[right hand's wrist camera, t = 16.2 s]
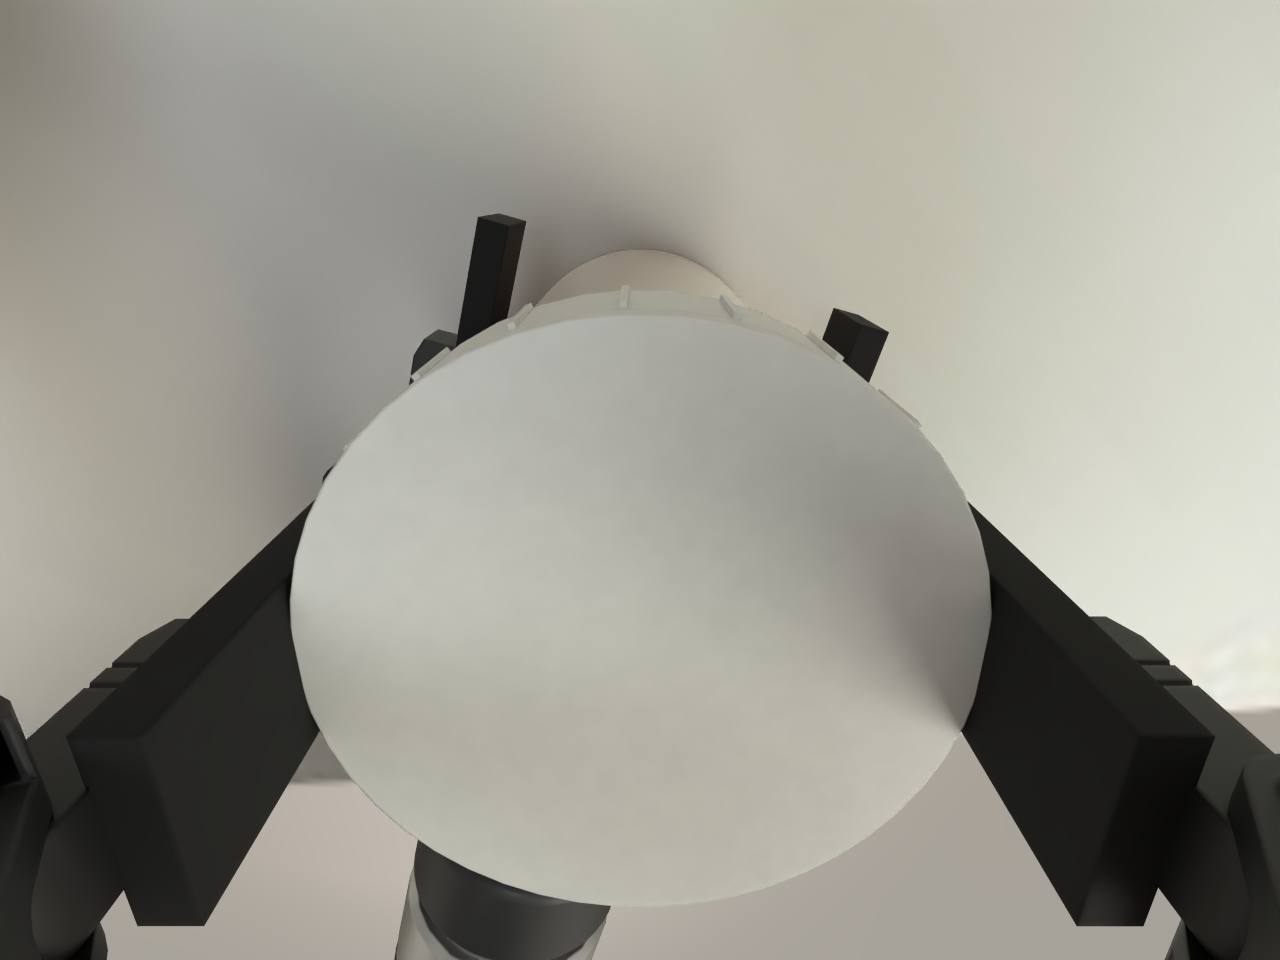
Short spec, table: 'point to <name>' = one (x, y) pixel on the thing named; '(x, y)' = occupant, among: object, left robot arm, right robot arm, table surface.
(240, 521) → the table surface
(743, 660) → the lid
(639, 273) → the jar
